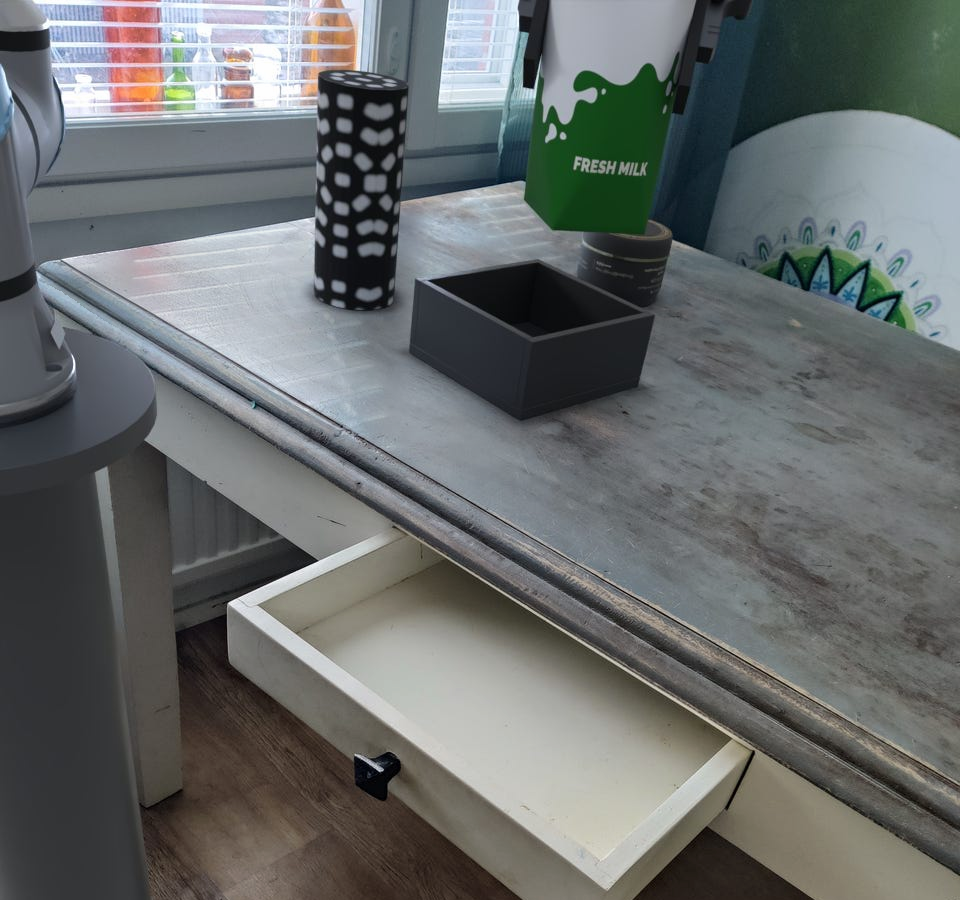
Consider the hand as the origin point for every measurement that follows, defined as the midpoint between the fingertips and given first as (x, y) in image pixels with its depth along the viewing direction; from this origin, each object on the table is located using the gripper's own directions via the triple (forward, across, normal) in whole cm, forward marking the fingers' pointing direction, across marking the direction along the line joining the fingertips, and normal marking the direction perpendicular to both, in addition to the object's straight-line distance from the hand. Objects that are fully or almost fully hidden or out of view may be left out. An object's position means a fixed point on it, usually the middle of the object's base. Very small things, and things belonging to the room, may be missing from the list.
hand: (604, 87), depth 63 cm
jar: (-12, -4, -50) cm, 51 cm away
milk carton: (+4, 0, -9) cm, 10 cm away
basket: (+7, +3, -31) cm, 32 cm away
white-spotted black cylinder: (-1, +23, -39) cm, 45 cm away
